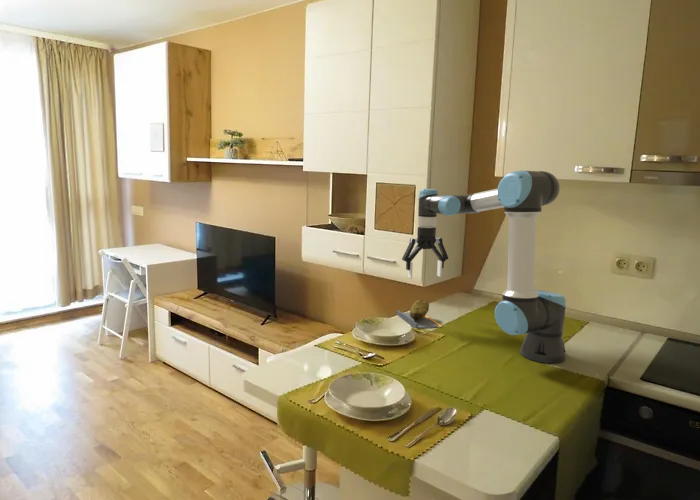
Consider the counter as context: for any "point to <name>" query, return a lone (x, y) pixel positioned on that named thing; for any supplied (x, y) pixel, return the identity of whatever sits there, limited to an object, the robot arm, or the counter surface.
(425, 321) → the mat
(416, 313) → the potato
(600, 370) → the counter surface
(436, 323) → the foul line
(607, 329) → the counter surface
